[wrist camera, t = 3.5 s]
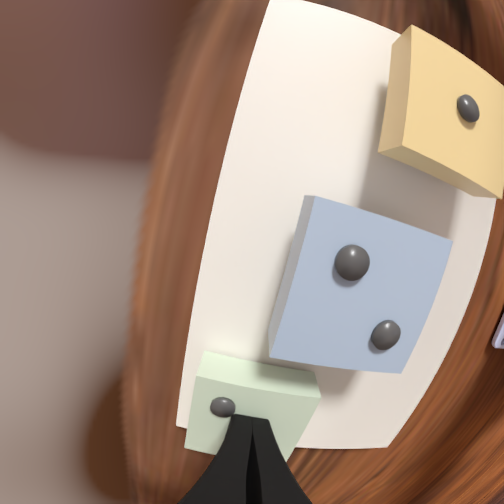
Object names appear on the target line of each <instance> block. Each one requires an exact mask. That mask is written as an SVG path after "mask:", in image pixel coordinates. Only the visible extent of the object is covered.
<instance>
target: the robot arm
mask: <svg viewBox="0 0 504 504" xmlns="http://www.w3.org/2000/svg"><path fill="white" fill-rule="evenodd" d="M492 346H494V347H495V348H502V349H504V313H503V316H502V318H501V321H500V323H499V325H498V328H497V330H496V332H495V335H494V337H493V339H492ZM177 504H312V502H311V501H310V500H309V499H308V497H307V496H306V495H305V493H304V492H303V490H302V489H301V487H300V486H299V484H298V483H297V481H296V479H295V478H294V476H293V474H292V473H291V471H290V469H289V467H288V465H287V463H286V461H285V459H284V457H283V455H282V453H281V451H280V449H279V446H278V444H277V441H276V439H275V436H274V434H273V431H272V428H271V425H270V421H269V420H268V419H264V418H258V417H251V416H246V415H240V414H233V415H232V416H231V419H230V422H229V425H228V429H227V432H226V435H225V438H224V441H223V443H222V445H221V447H220V448H219V450H218V452H217V454H216V456H215V457H214V459H213V460H212V462H211V463H210V465H209V466H208V468H207V469H206V471H205V472H204V474H203V475H202V476H201V478H200V479H199V480H198V481H197V483H196V484H195V485H194V486H193V487H192V489H191V490H190V491H189V492H188V493H187V494H186V495H185V496H184V497H183V498H182V499H181V500H180V501H179V502H178V503H177Z"/></svg>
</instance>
